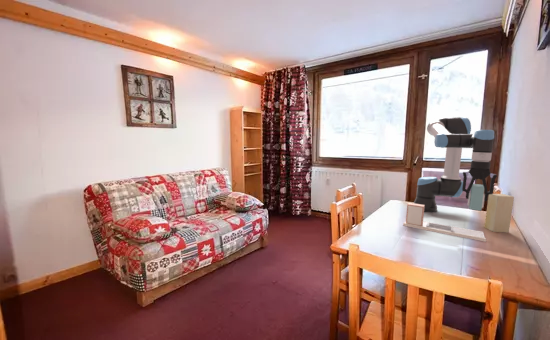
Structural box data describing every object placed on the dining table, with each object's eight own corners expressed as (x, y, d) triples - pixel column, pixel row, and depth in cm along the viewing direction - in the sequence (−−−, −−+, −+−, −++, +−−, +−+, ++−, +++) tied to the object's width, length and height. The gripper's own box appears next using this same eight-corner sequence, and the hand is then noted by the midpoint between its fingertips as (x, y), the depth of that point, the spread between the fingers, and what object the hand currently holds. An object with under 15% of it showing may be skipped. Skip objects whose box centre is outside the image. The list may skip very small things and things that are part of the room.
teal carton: (469, 209, 126) (472, 186, 124) (468, 205, 132) (471, 183, 130) (481, 211, 123) (484, 187, 121) (480, 207, 129) (483, 184, 128)
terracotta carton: (406, 222, 145) (408, 202, 143) (422, 225, 140) (424, 204, 139) (405, 224, 141) (407, 204, 139) (421, 227, 136) (423, 206, 135)
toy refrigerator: (498, 230, 139) (503, 193, 136) (509, 235, 132) (514, 196, 129) (482, 229, 140) (487, 193, 137) (492, 234, 133) (498, 196, 130)
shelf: (407, 220, 153) (407, 215, 152) (482, 234, 132) (483, 228, 132) (402, 227, 140) (403, 222, 140) (485, 244, 119) (486, 237, 119)
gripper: (458, 160, 126) (453, 204, 129) (506, 162, 116) (499, 210, 119) (458, 159, 132) (453, 201, 135) (503, 161, 122) (497, 207, 125)
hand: (475, 205), depth 127 cm, fingers closed on teal carton, 5 cm apart
